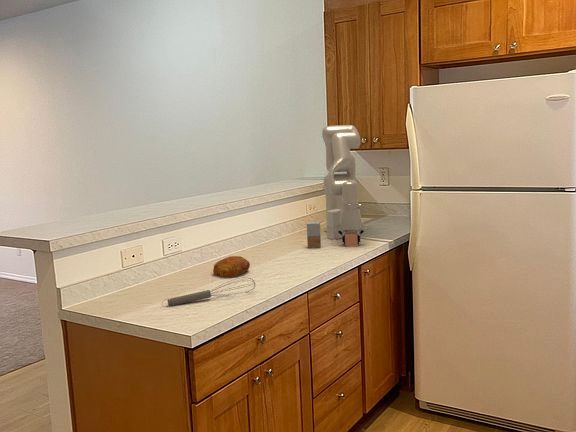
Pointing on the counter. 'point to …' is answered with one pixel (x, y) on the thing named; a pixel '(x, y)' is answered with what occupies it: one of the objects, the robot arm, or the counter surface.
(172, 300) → the kitchen whisk
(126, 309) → the counter surface
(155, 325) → the counter surface
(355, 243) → the terracotta block
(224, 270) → the brown bread loaf
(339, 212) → the skincare box
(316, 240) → the walnut block
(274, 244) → the counter surface
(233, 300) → the counter surface
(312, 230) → the slate block
